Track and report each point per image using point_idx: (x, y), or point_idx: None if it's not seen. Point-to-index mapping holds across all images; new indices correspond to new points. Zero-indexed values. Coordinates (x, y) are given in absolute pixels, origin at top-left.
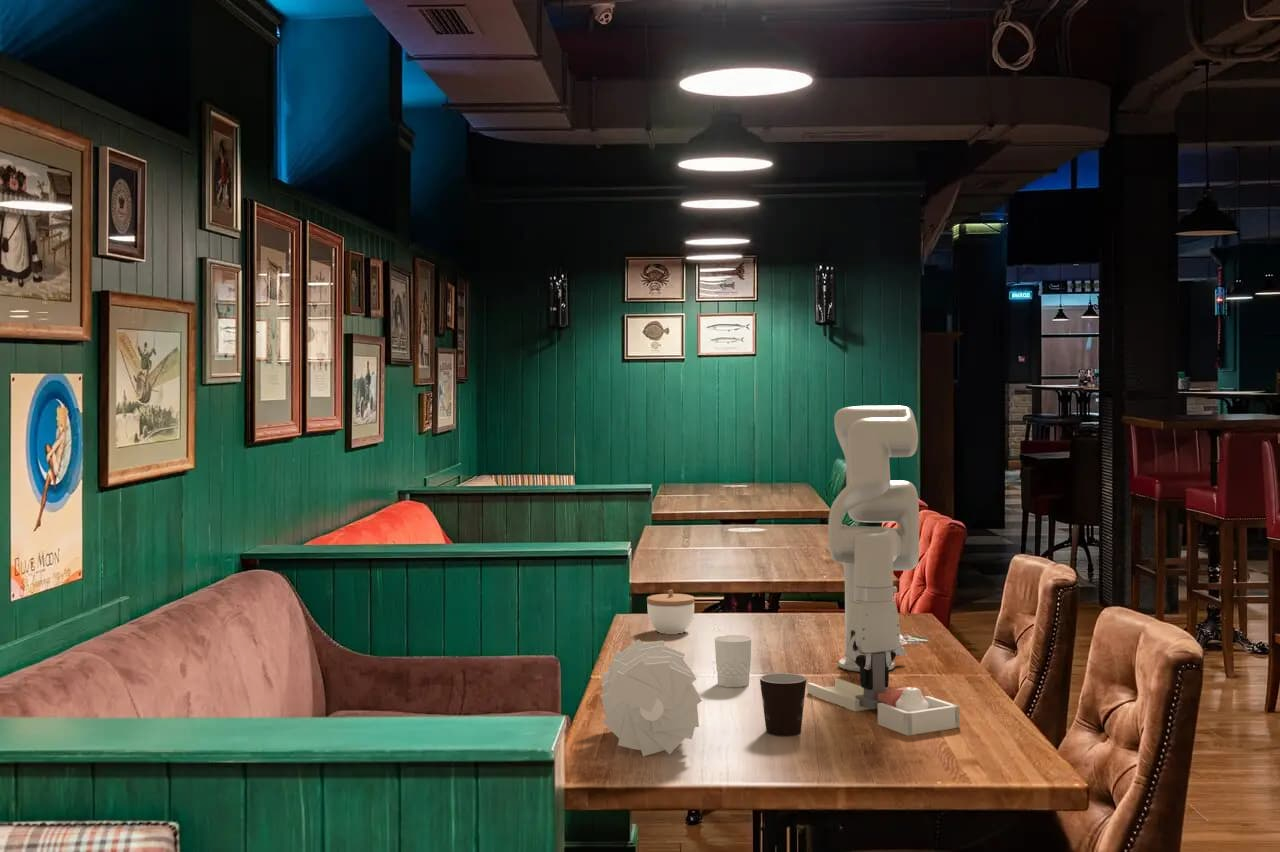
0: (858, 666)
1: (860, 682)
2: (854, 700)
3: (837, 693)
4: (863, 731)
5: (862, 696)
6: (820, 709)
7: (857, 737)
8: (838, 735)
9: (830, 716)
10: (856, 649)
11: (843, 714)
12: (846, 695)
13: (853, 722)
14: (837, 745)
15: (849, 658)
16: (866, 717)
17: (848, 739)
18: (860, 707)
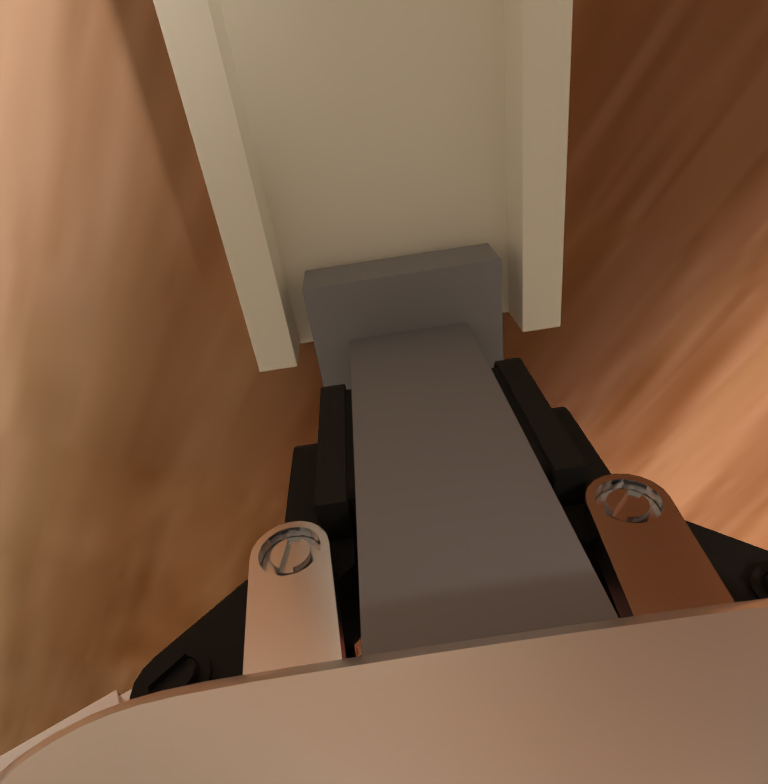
0: (263, 554)
1: (295, 450)
2: (257, 362)
3: (194, 93)
4: (172, 633)
5: (345, 329)
6: (32, 194)
7: (118, 684)
8: (41, 654)
9: (71, 386)
10: (253, 674)
11: (169, 370)
12: (251, 204)
13: (174, 519)
14: (10, 734)
15: (72, 715)
16: (281, 460)
17: (73, 695)
18: (309, 338)
